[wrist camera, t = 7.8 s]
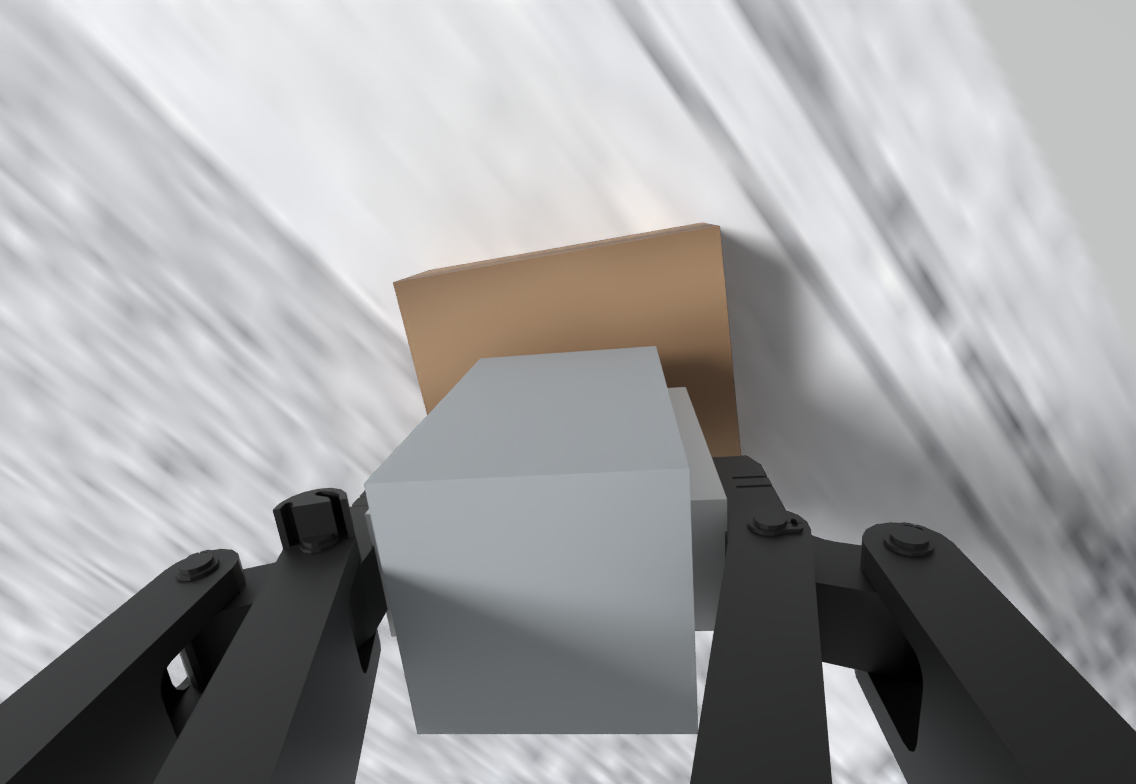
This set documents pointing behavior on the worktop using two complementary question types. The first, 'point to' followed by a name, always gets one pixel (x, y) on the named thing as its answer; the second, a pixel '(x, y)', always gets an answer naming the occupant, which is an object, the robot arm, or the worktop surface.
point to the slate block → (544, 550)
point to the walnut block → (585, 315)
